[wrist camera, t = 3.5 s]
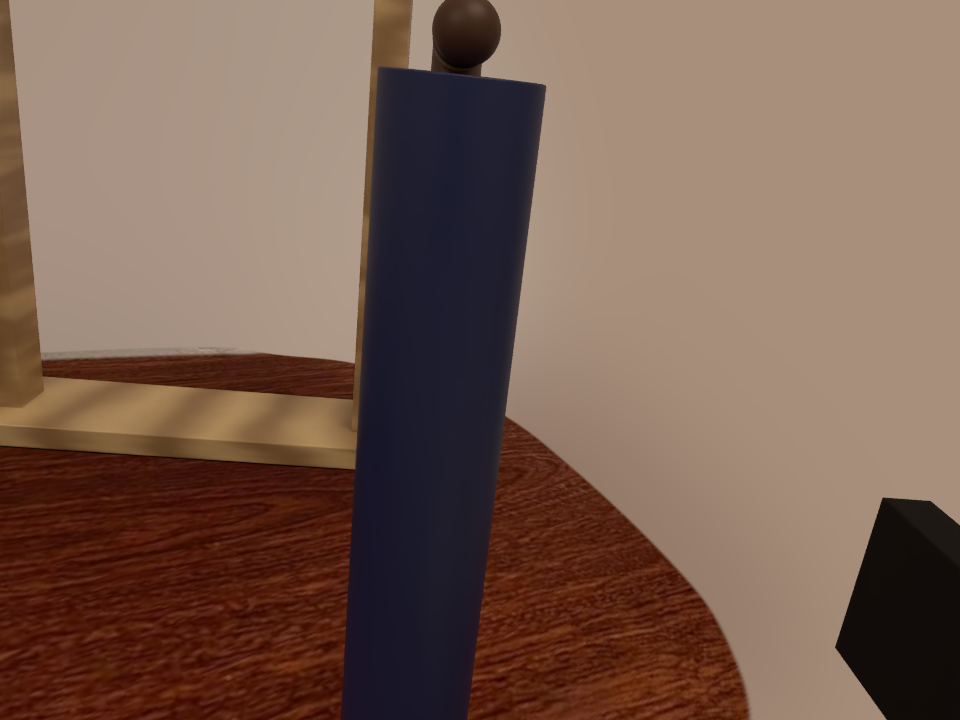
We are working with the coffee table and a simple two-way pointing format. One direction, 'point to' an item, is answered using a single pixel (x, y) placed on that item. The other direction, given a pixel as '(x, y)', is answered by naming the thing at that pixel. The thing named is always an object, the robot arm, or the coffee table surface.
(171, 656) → the coffee table surface
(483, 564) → the umbrella
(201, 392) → the rack
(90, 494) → the coffee table surface
